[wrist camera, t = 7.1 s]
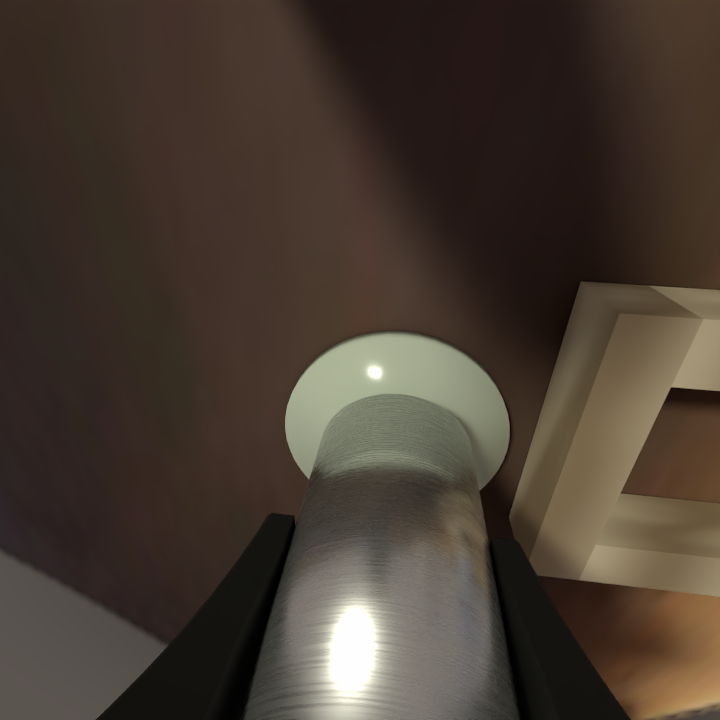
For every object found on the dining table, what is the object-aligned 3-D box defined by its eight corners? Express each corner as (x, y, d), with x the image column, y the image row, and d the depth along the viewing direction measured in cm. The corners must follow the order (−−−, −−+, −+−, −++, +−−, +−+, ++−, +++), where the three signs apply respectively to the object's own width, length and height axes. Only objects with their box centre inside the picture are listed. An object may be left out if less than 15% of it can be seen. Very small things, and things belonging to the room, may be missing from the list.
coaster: (529, 340, 13) (534, 348, 12) (483, 514, 17) (486, 526, 16) (283, 321, 14) (278, 329, 13) (294, 493, 17) (290, 505, 17)
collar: (957, 305, 11) (1090, 345, 9) (768, 544, 16) (825, 609, 14) (580, 281, 12) (619, 313, 10) (509, 517, 17) (523, 574, 15)
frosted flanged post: (485, 402, 12) (583, 768, 5) (457, 516, 15) (497, 864, 8) (320, 385, 12) (204, 704, 6) (320, 499, 15) (240, 816, 8)
